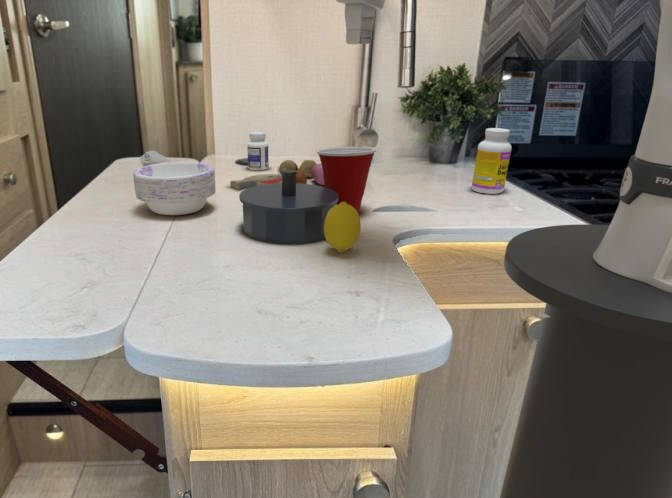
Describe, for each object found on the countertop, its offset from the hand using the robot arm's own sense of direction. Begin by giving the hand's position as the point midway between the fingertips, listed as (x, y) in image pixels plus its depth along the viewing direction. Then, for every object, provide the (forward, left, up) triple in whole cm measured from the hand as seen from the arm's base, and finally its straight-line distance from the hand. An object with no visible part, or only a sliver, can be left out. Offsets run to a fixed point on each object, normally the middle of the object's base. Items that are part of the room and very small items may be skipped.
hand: (359, 44), depth 76 cm
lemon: (0, +5, -29) cm, 30 cm away
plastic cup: (+4, -17, -29) cm, 34 cm away
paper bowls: (+35, -9, -29) cm, 46 cm away
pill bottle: (+32, -49, -29) cm, 65 cm away
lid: (+11, -4, -24) cm, 26 cm away
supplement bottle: (-23, -42, -29) cm, 56 cm away
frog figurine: (+50, -29, -29) cm, 65 cm away
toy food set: (+19, -36, -29) cm, 50 cm away
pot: (+11, -4, -29) cm, 31 cm away
